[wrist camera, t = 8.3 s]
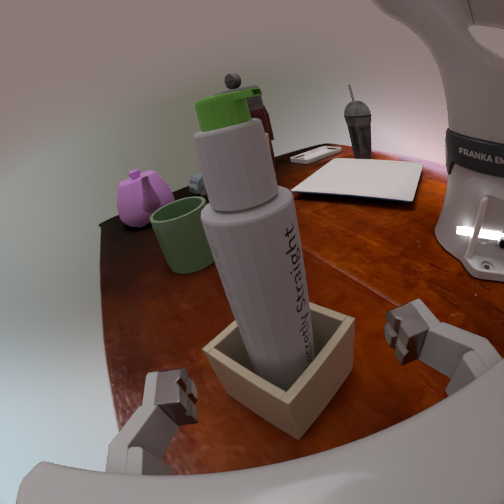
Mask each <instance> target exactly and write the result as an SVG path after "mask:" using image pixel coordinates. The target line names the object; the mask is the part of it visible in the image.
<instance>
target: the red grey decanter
mask: <svg viewBox="0 0 504 504" xmlns="http://www.w3.org/2000/svg"><path fill="white" fill-rule="evenodd" d="M225 84H226V86H227V88H229V89H231V90H228V91H225V92H222V93H219V94H216V95H220V94H224V93H229V92H234V91H242V90H246V89H251V88H258V86H256V85H254V86H248V87H243V88H238V87H239V86H240V84H241V78H240V76H239V75H238V74H237V73H233V74H228V75H227V76H226V77H225ZM216 95H214V96H216ZM246 100H247V104H248V108H249V112H250V116H251V119H252V118H257V119H260V120H261V121H262V125H263V128H264V131H265V133H268V138H269V144H270V151H271V157H272V161H273V166H274V168H277V167H276V162H275V157H274V152H273V147H272V143H271V140H274V137H273V132H272V128H271V123H270V119H269V114H268V112H267V110H266V109H265V106H264V105H263V102H262V98H261V95H259V96H254V97H249V98H246Z"/></svg>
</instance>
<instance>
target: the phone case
mask: <svg viewBox="0 0 504 504" xmlns="http://www.w3.org/2000/svg"><path fill="white" fill-rule="evenodd" d="M327 147H330V146H322V147H319V148H316V149H313V150H310V151H307V152H305V153H302V154H299V155H296V156H293V157H291V158H290V160H291V162H295V163H303V164H310V163H313V162H315V161H318V160H321V159H323V158H326V157H329V156H332V155H334V154H337V153H340V152H342V150H341V147H330V148H338V149H335V150H331V149H327ZM303 154H304V156H302V157H299V158H295V157H297V156H300V155H303ZM302 158H304V159H302Z"/></svg>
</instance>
